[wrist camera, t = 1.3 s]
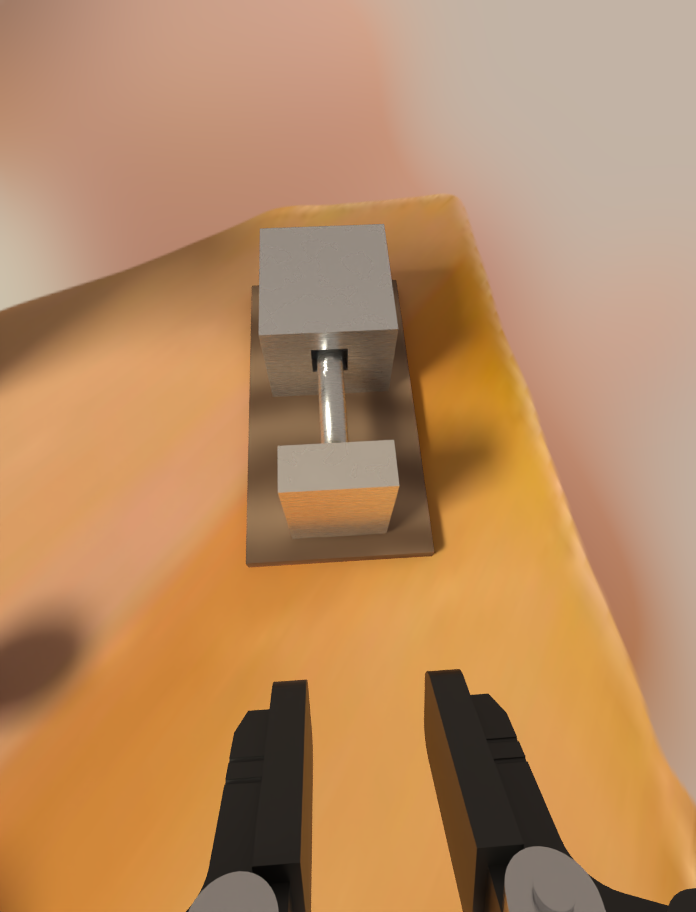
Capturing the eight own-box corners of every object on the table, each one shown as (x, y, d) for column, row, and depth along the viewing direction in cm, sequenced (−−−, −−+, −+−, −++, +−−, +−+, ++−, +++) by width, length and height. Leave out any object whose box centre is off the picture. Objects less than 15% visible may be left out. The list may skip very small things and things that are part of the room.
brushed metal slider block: (386, 533, 38) (399, 485, 29) (292, 539, 37) (277, 492, 29) (364, 314, 47) (369, 228, 38) (288, 317, 46) (276, 231, 38)
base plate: (431, 555, 39) (434, 552, 38) (248, 567, 38) (245, 563, 37) (394, 288, 50) (396, 279, 49) (253, 294, 50) (252, 285, 48)
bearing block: (388, 391, 44) (398, 328, 36) (272, 396, 43) (258, 335, 36) (377, 296, 48) (384, 224, 41) (272, 300, 48) (260, 228, 40)
